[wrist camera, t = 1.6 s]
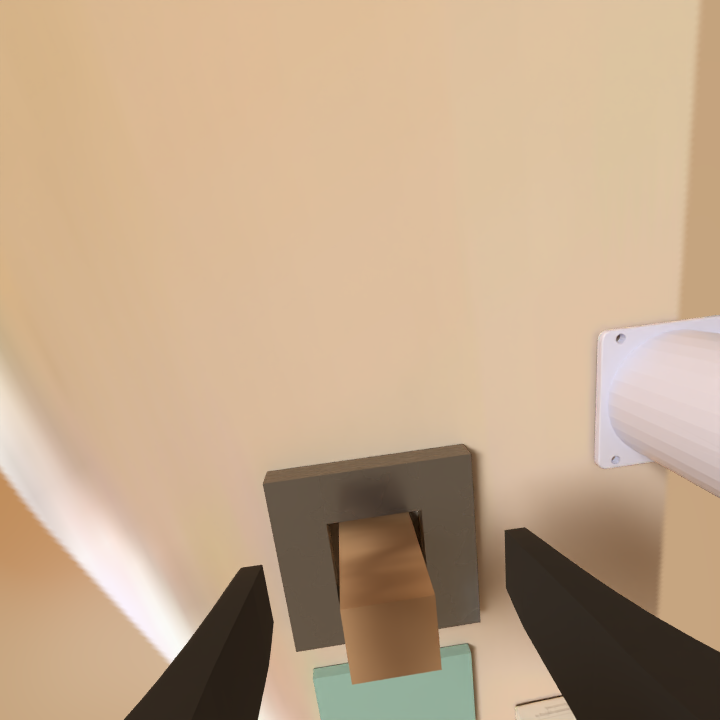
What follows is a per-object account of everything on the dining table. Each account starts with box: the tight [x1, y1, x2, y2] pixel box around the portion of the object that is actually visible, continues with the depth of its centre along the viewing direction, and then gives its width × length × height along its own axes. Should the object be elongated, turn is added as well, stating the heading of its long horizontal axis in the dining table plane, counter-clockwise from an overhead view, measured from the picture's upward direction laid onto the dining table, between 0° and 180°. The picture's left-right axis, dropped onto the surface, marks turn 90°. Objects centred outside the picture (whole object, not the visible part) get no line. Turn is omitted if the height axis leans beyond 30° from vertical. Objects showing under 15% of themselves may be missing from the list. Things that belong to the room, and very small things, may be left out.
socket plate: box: [263, 444, 480, 652], centre depth 20 cm, size 11×11×1 cm
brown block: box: [339, 512, 442, 685], centre depth 18 cm, size 4×4×6 cm
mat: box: [313, 644, 475, 720], centre depth 23 cm, size 10×7×1 cm
